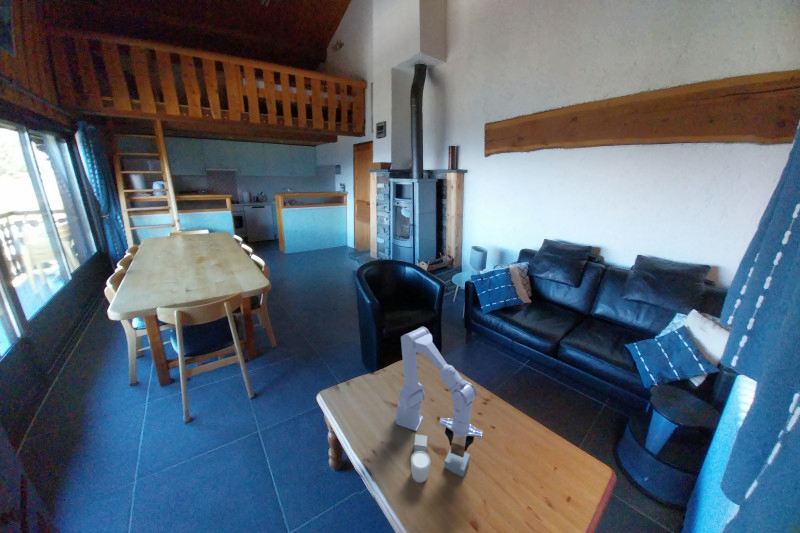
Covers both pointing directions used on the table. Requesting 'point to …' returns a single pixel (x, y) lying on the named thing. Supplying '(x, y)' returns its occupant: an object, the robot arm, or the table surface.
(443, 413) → the table surface
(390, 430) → the table surface
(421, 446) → the grey cube
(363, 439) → the table surface
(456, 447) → the walnut cube
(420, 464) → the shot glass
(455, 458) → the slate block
